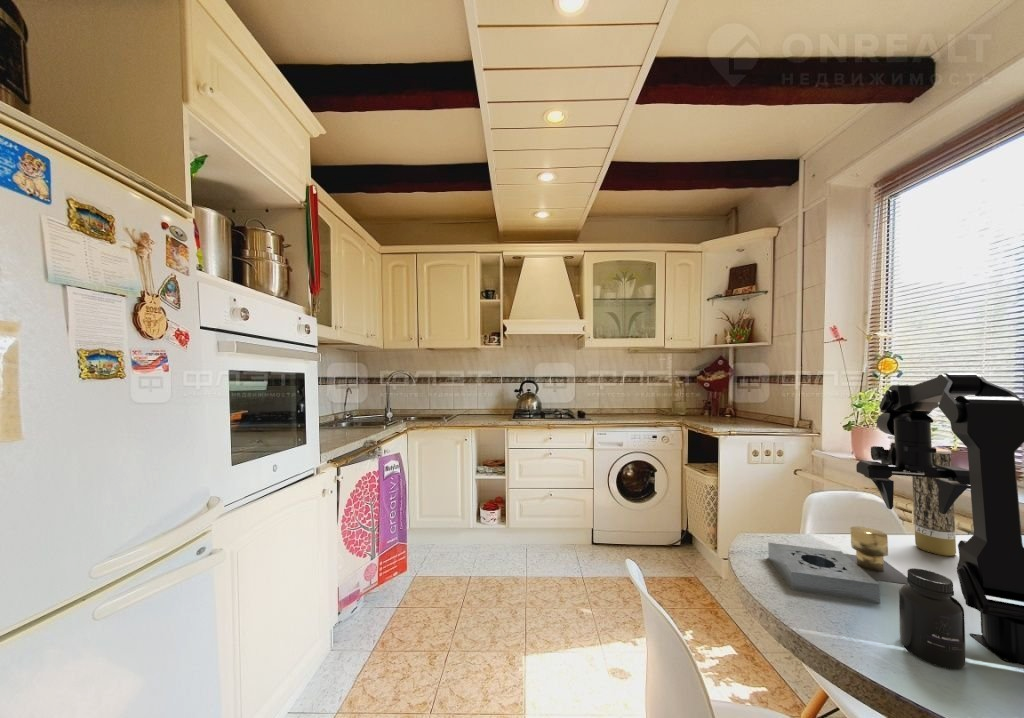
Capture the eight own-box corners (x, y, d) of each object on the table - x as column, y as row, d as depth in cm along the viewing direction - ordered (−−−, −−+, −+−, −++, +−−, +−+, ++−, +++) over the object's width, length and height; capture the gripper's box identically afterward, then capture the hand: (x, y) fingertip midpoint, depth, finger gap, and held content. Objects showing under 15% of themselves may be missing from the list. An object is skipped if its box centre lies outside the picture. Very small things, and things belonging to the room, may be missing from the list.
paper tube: (941, 546, 96) (936, 447, 97) (965, 558, 89) (959, 452, 90) (908, 543, 98) (903, 445, 99) (928, 555, 91) (924, 450, 92)
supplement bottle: (948, 676, 54) (944, 590, 55) (889, 643, 61) (886, 567, 61) (978, 666, 56) (974, 583, 56) (918, 636, 62) (915, 562, 63)
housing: (880, 606, 71) (879, 584, 71) (792, 592, 75) (791, 571, 75) (841, 569, 84) (841, 551, 84) (768, 559, 88) (768, 542, 88)
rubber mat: (918, 588, 77) (917, 585, 77) (857, 579, 80) (857, 576, 80) (881, 560, 88) (881, 558, 88) (829, 554, 91) (829, 551, 91)
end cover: (896, 576, 80) (894, 539, 80) (860, 571, 82) (859, 535, 82) (879, 562, 86) (877, 528, 86) (846, 558, 88) (845, 525, 88)
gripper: (939, 437, 90) (942, 504, 89) (843, 433, 95) (845, 496, 95) (979, 445, 79) (983, 521, 78) (868, 440, 85) (871, 511, 84)
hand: (915, 511), depth 84 cm, fingers open, 9 cm apart
